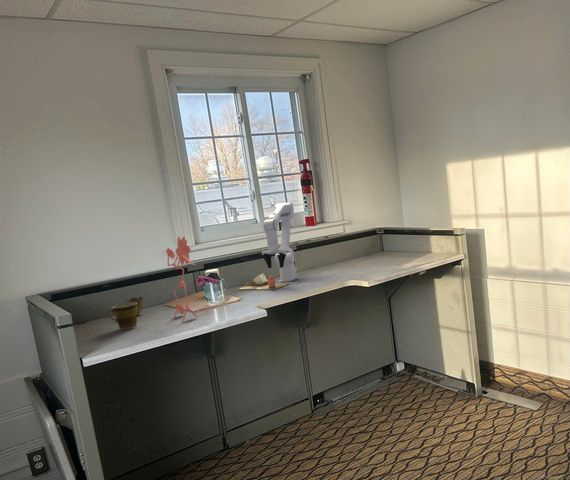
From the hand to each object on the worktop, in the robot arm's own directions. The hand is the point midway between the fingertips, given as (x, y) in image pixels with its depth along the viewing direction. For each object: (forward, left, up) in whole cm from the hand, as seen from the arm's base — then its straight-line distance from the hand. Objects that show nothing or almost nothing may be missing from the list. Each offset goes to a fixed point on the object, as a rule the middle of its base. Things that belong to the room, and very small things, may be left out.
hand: (275, 267), depth 267 cm
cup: (+63, -37, -10) cm, 74 cm away
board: (+3, -8, -10) cm, 13 cm away
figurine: (+60, -4, -10) cm, 61 cm away
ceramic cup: (+83, -21, -10) cm, 86 cm away
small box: (+21, -26, -10) cm, 35 cm away
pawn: (+7, +1, -9) cm, 12 cm away
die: (0, -13, -7) cm, 15 cm away
